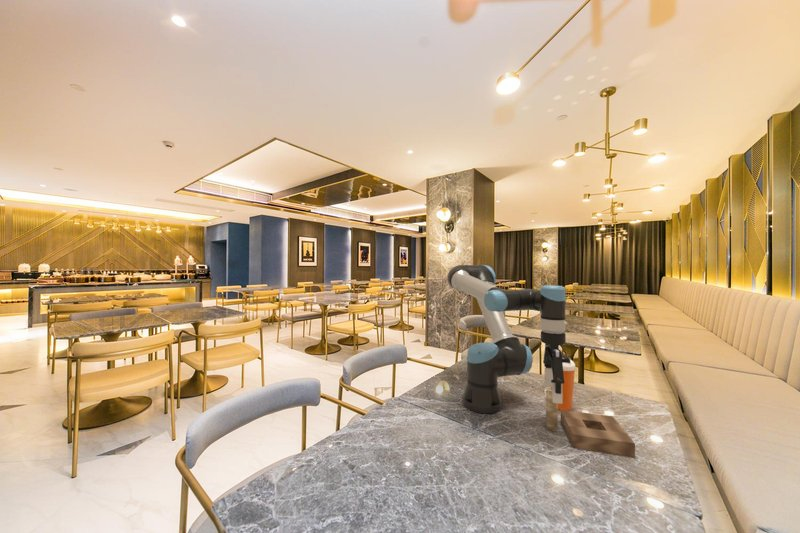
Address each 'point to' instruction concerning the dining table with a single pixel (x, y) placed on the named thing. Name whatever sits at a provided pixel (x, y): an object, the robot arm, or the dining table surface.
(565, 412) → the socket block
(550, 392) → the peg
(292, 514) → the dining table surface
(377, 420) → the dining table surface
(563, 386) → the shaker bottle
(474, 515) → the dining table surface
